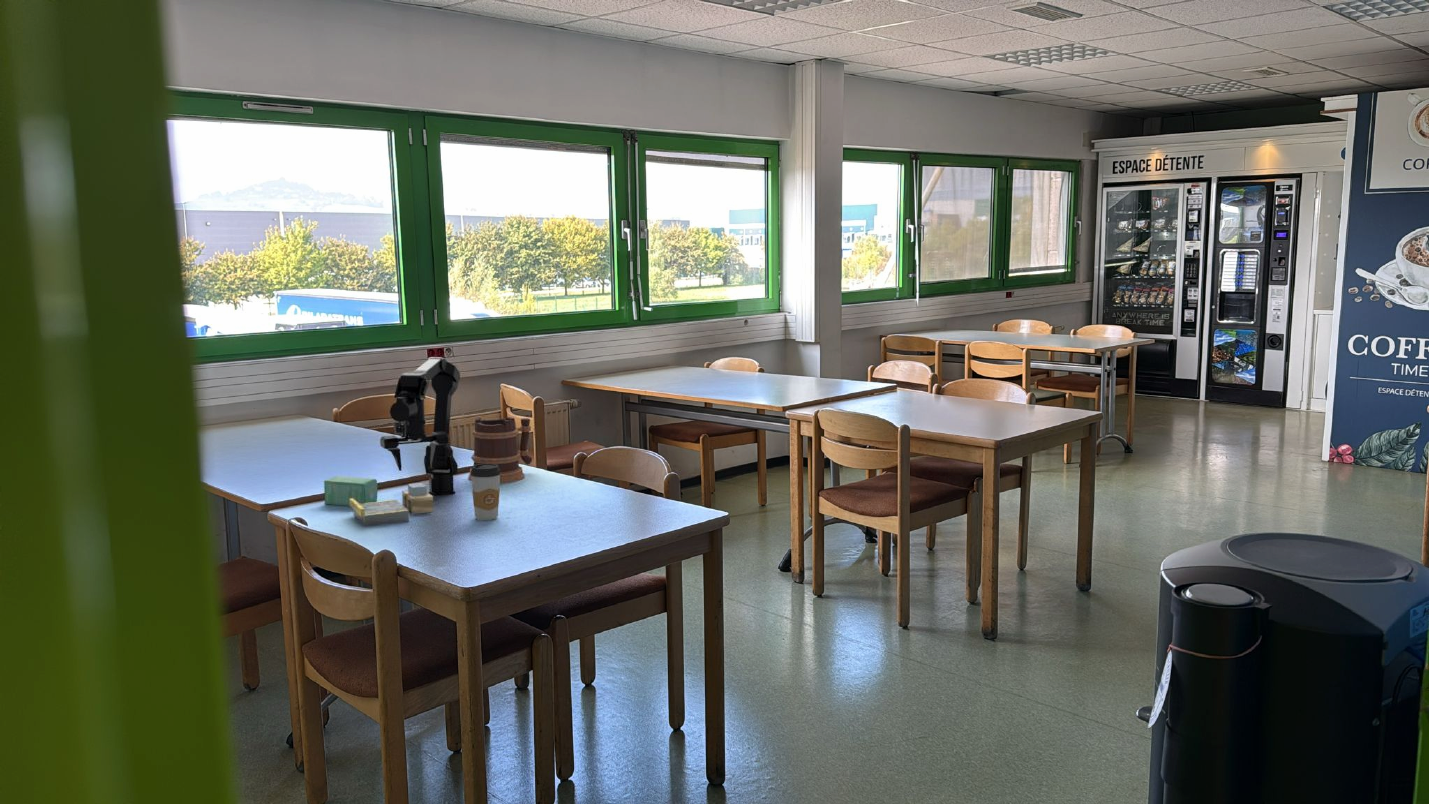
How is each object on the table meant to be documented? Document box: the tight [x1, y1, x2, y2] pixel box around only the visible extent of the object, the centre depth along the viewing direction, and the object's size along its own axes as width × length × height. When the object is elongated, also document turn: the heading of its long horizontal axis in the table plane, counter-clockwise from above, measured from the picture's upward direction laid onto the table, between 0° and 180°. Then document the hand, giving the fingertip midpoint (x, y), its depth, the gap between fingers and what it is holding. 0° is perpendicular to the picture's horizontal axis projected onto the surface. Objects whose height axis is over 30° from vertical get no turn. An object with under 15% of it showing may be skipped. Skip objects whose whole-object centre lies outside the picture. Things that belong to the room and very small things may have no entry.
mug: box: [467, 416, 533, 484], centre depth 348 cm, size 18×23×20 cm
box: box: [323, 475, 379, 507], centre depth 312 cm, size 7×14×8 cm, turn 78°
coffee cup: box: [469, 464, 501, 521], centre depth 296 cm, size 8×8×15 cm
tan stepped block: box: [401, 489, 434, 515], centre depth 307 cm, size 11×6×4 cm, turn 31°
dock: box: [349, 498, 410, 527], centre depth 295 cm, size 13×14×5 cm
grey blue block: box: [407, 482, 428, 496], centre depth 306 cm, size 5×4×2 cm
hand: (416, 469), depth 305 cm, fingers open, 9 cm apart
